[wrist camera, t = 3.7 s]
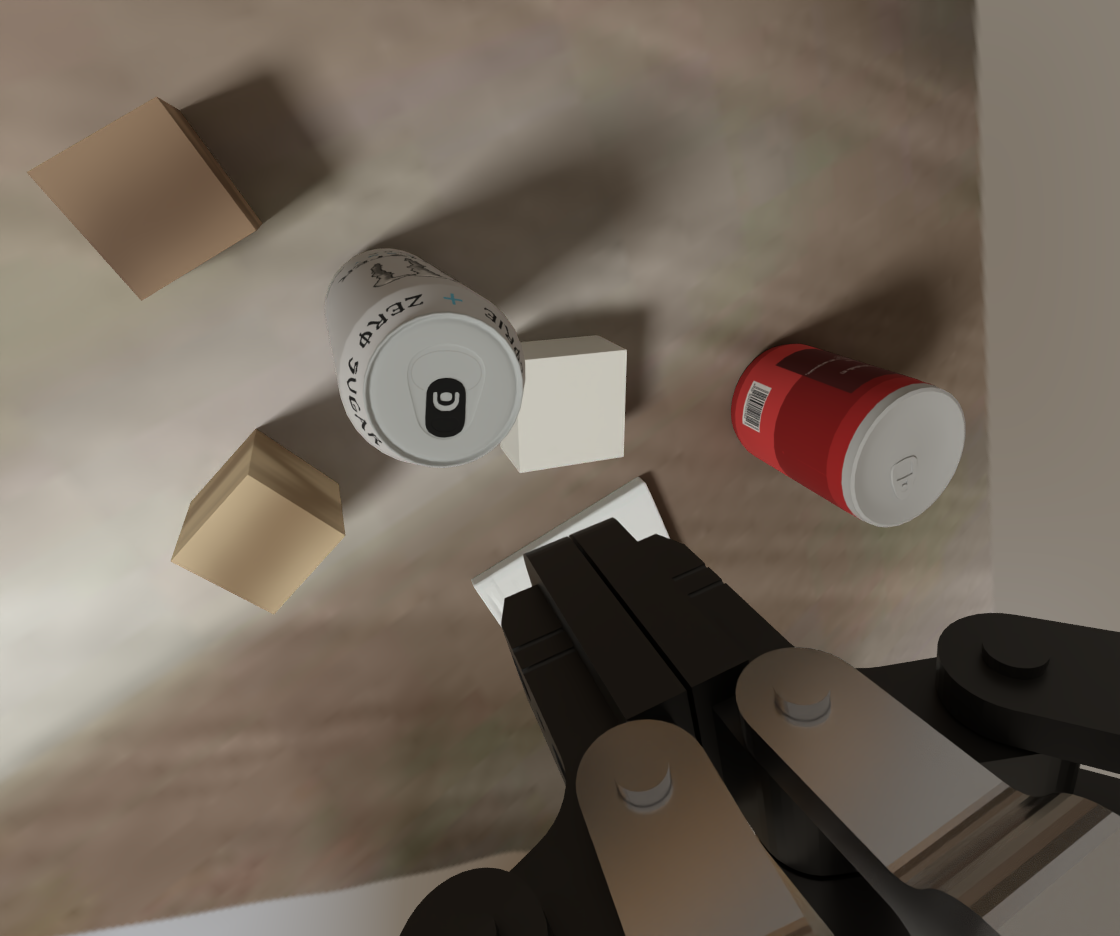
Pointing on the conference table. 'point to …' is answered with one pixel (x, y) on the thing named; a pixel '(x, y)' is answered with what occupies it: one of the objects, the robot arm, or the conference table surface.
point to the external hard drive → (623, 504)
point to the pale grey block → (569, 404)
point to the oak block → (261, 524)
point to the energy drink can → (422, 360)
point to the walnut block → (148, 196)
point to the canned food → (850, 431)
